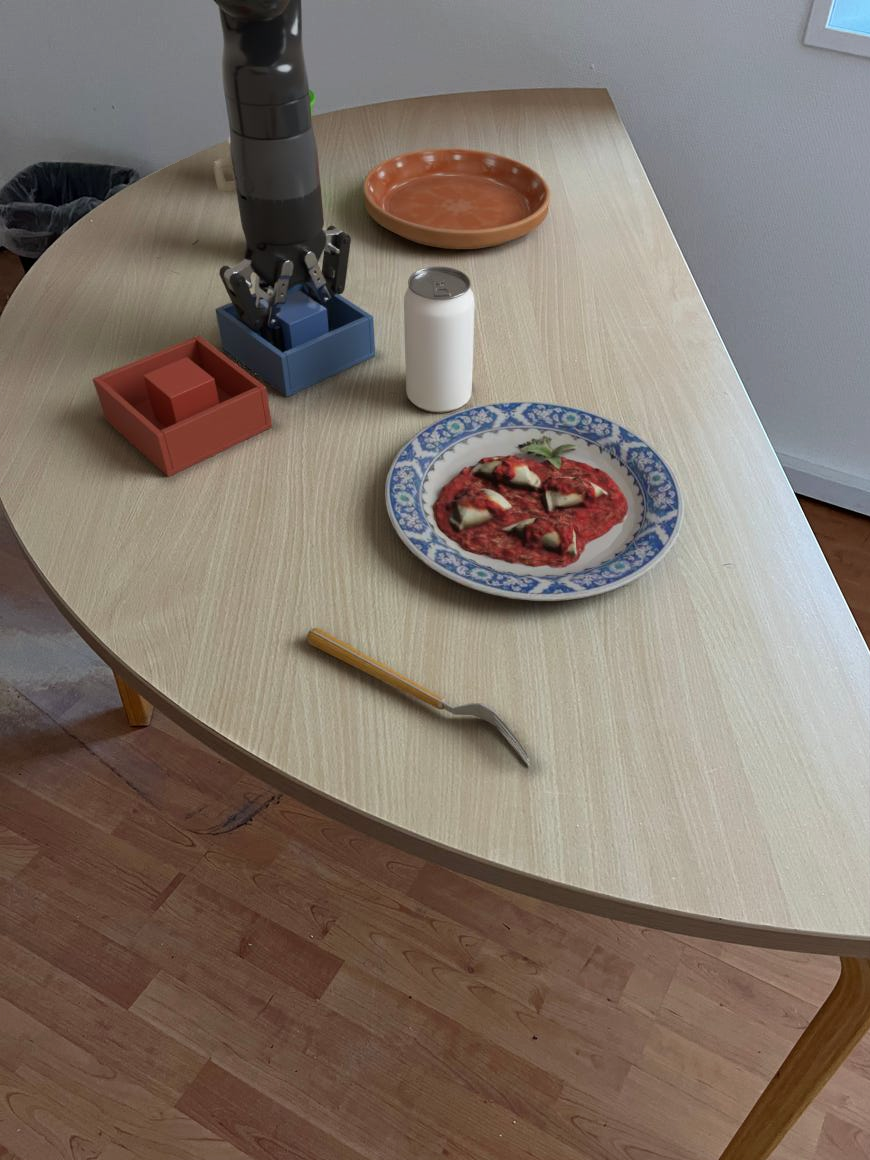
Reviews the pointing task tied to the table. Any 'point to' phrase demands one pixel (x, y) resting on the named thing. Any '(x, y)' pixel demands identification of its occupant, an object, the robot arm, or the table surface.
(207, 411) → the red bin
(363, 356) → the blue bin
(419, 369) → the can
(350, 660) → the fork
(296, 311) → the blue block
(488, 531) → the ceramic plate
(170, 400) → the red block
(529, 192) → the saucer
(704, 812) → the table surface
